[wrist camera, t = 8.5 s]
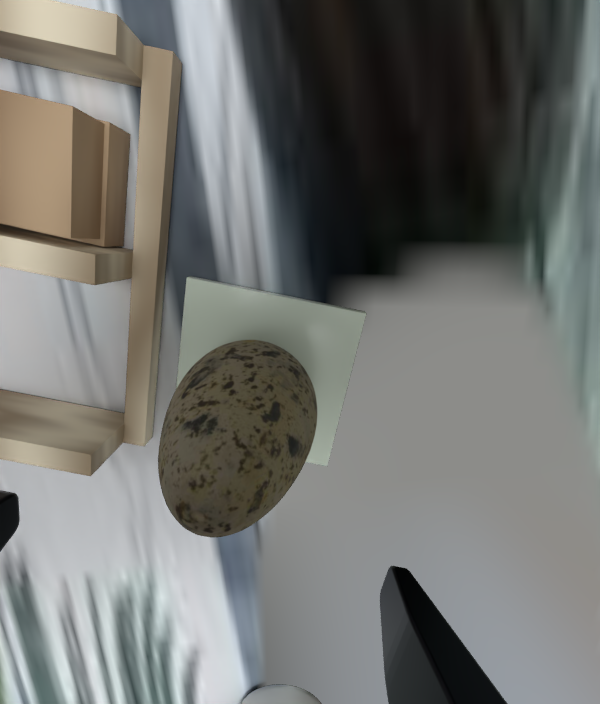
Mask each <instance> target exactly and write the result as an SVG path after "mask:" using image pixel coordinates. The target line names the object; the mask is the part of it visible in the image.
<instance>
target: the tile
mask: <svg viewBox="0 0 600 704" xmlns="http://www.w3.org/2000/svg"><path fill="white" fill-rule="evenodd" d="M365 317H366V312H365V311H360V310H356V309H351V308H346V307H341V306H336V305H331V304H326V303H321V302H316V301H311V300H306V299H301V298H296V297H291V296H286V295H281V294H277V293H272V292H267V291H262V290H257V289H252V288H247V287H242V286H237V285H232V284H227V283H222V282H217V281H212V280H207V279H202V278H197V277H193V276H190V277H187V280H186V290H185V301H184V311H183V321H182V331H181V342H180V352H179V362H178V372H177V382H176V389H177V387H178V386H179V384H180V382H181V381H182V379H183V378H184V376H185V375H186V374H187V372H188V371H189V370H190V369H191V367H192V366H193V365H194V364H195V363H196V362H197V361H198V360H200V359H201V358H202V357H203V356H204V355H206V354H207V353H209V352H210V351H212V350H214V349H215V348H217V347H219V346H222V345H224V344H227V343H230V342H234V341H240V340H260V341H265V342H269V343H272V344H274V345H277V346H279V347H281V348H283V349H284V350H286V351H287V352H289V353H290V354H291V355H293V356H294V357H295V358H296V359H297V360H298V361H299V362H300V364H301V365H302V366H303V367H304V369H305V370H306V372H307V374H308V375H309V377H310V380H311V382H312V384H313V387H314V391H315V395H316V401H317V425H316V431H315V436H314V440H313V443H312V447H311V450H310V452H309V455H308V457H307V459H306V462H307V463H312V464H318V465H322V466H328V462H329V458H330V454H331V450H332V446H333V442H334V438H335V434H336V430H337V426H338V422H339V418H340V415H341V411H342V407H343V403H344V399H345V395H346V391H347V388H348V383H349V380H350V376H351V372H352V368H353V364H354V360H355V356H356V352H357V348H358V345H359V340H360V337H361V333H362V329H363V325H364V321H365Z"/></svg>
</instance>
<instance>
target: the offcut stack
mask: <svg viewBox="0 0 600 704" xmlns="http://www.w3.org/2000/svg"><path fill="white" fill-rule="evenodd" d="M129 148H130V134H129V133H127V132H125V131H123V130H122V129H120V128H118V127H116V126H115V125H113V124H111V123H109V122H105V121H101V120H96V119H94V118H93V117H91V116H89V115H87V114H85V113H84V112H82V111H80V110H78V109H76V108H75V107H73V106H69V105H64V104H60V103H56V102H51V101H47V100H43V99H38V98H34V97H30V96H25V95H21V94H17V93H12V92H8V91H4V90H0V224H4V225H8V226H13V227H17V228H22V229H26V230H31V231H35V232H40V233H44V234H49V235H53V236H58V237H62V238H67V239H71V240H76V241H80V242H85V243H89V244H94V245H98V246H103V247H115V246H124V230H125V214H126V197H127V181H128V164H129Z"/></svg>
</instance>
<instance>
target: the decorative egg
mask: <svg viewBox="0 0 600 704" xmlns="http://www.w3.org/2000/svg"><path fill="white" fill-rule="evenodd" d="M316 425H317V401H316V395H315V391H314V387H313V384H312V382H311V380H310V377H309V375H308V374H307V372H306V370H305V369H304V367H303V366H302V365H301V364H300V362H299V361H298V360H297V359H296V358H295V357H294V356H293V355H291V354H290V353H289V352H287V351H286V350H284V349H283V348H281V347H279V346H277V345H274V344H272V343H269V342H265V341H260V340H240V341H234V342H230V343H227V344H224V345H222V346H219V347H217V348H215V349H214V350H212V351H210V352H209V353H207V354H206V355H204V356H203V357H202V358H201V359H200V360H198V361H197V362H196V363H195V364H194V365H193V366H192V367H191V369H190V370H189V371H188V372H187V374H186V375H185V376H184V378H183V379H182V381H181V382H180V384H179V386H178V387H177V389H176V391H175V393H174V395H173V397H172V399H171V402H170V404H169V407H168V410H167V413H166V416H165V420H164V424H163V428H162V432H161V438H160V445H159V455H158V469H159V478H160V485H161V489H162V493H163V496H164V499H165V501H166V504H167V506H168V508H169V510H170V511H171V513H172V515H173V516H174V517H175V519H176V520H177V521H178V522H179V523H180V524H181V525H182V526H183V527H184V528H186V529H187V530H189V531H191V532H193V533H195V534H197V535H201V536H207V537H222V536H227V535H231V534H234V533H237V532H239V531H242V530H244V529H246V528H247V527H249V526H251V525H252V524H254V523H255V522H257V521H258V520H259V519H261V518H262V517H263V516H265V515H266V514H267V513H268V512H269V511H270V510H271V509H272V508H273V507H275V505H276V504H277V503H278V502H279V501H280V500H281V499H282V498H283V496H284V495H285V494H286V492H287V491H288V490H289V488H290V487H291V485H292V484H293V483H294V481H295V479H296V478H297V476H298V474H299V473H300V471H301V469H302V467H303V465H304V463H305V462H306V459H307V457H308V455H309V452H310V450H311V447H312V443H313V440H314V436H315V431H316Z"/></svg>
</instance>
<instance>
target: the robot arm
mask: <svg viewBox="0 0 600 704" xmlns="http://www.w3.org/2000/svg"><path fill="white" fill-rule="evenodd" d="M18 525H19V501H18V496H17V495H16V494H15V493H11V492H6V491H0V551H1V550H2V549H3V547H4V546H5V545H6V543H7V542H8V541H9V539H10V538H11V537H12V535H13V534H14V533H15V531H16V529H17V527H18ZM380 610H381V626H382V641H383V657H384V670H385V681H386V688H387V696H388V702H389V704H507V702H506V701H505V700H504V698H502V696H501V694H500V693H499V692H498V690H497V689H496V688H495V686H494V685H493V684H492V682H491V681H490V679H489V678H488V677H487V675H486V674H485V673H484V672H483V670H482V669H481V667H480V666H479V665H478V663H477V662H476V660H475V659H474V658H473V656H472V655H471V654H470V652H469V651H468V650H467V649H466V647H465V646H464V644H463V643H462V642H461V640H460V639H459V637H458V636H457V635H456V633H455V632H454V631H453V629H452V628H451V627H450V625H449V624H448V623H447V621H446V620H445V619H444V617H443V616H442V615H441V613H440V612H439V610H438V609H437V608H436V606H435V605H434V604H433V602H432V601H431V600H430V598H429V597H428V595H427V594H426V593H425V592H424V591H423V589H422V587H421V586H420V585H419V584H418V582H417V581H416V579H415V578H414V577H413V575H412V574H411V572H410V571H409V570H407V569H406V568H401V567H396V566H391V567H390V568H389V570H388V572H387V575H386V577H385V580H384V583H383V586H382V589H381V593H380Z"/></svg>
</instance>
